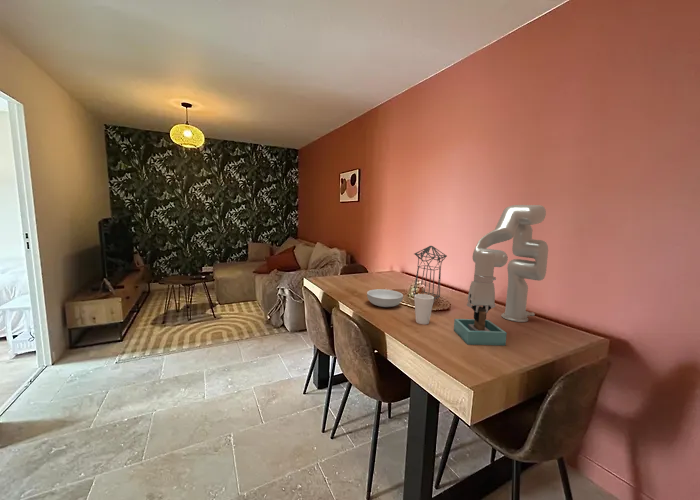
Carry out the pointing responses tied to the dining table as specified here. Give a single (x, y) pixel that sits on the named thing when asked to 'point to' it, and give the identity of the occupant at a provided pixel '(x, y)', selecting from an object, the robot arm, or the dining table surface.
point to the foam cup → (423, 308)
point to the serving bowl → (384, 297)
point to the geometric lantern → (429, 267)
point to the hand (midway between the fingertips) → (479, 320)
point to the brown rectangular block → (481, 319)
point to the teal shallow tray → (479, 333)
